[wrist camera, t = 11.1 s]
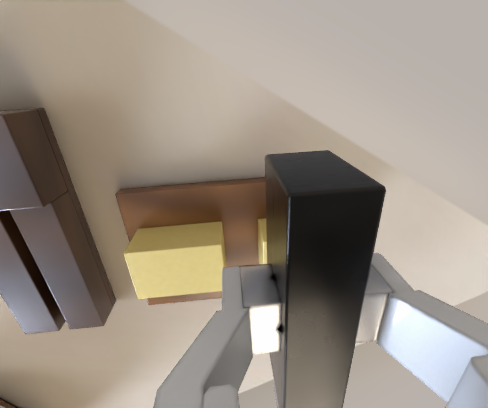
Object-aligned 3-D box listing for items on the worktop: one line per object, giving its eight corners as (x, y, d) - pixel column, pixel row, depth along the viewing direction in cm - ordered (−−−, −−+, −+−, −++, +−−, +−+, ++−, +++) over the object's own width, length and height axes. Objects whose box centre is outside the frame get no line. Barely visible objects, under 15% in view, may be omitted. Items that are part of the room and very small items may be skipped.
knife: (252, 133, 10) (288, 194, 4) (300, 130, 10) (389, 186, 5) (262, 390, 17) (280, 529, 12) (289, 387, 17) (320, 524, 12)
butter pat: (257, 218, 22) (263, 241, 19) (286, 216, 22) (296, 238, 19) (258, 260, 24) (263, 287, 21) (285, 258, 24) (294, 285, 21)
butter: (137, 228, 22) (122, 253, 18) (221, 221, 22) (221, 244, 19) (149, 270, 24) (137, 299, 20) (226, 263, 24) (226, 290, 21)
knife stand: (-59, 115, 18) (-126, 122, 14) (44, 108, 18) (2, 114, 15) (45, 308, 26) (18, 342, 22) (116, 301, 26) (100, 334, 23)
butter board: (119, 189, 21) (114, 193, 20) (288, 175, 22) (291, 179, 21) (151, 297, 26) (148, 305, 25) (286, 284, 27) (288, 291, 26)
